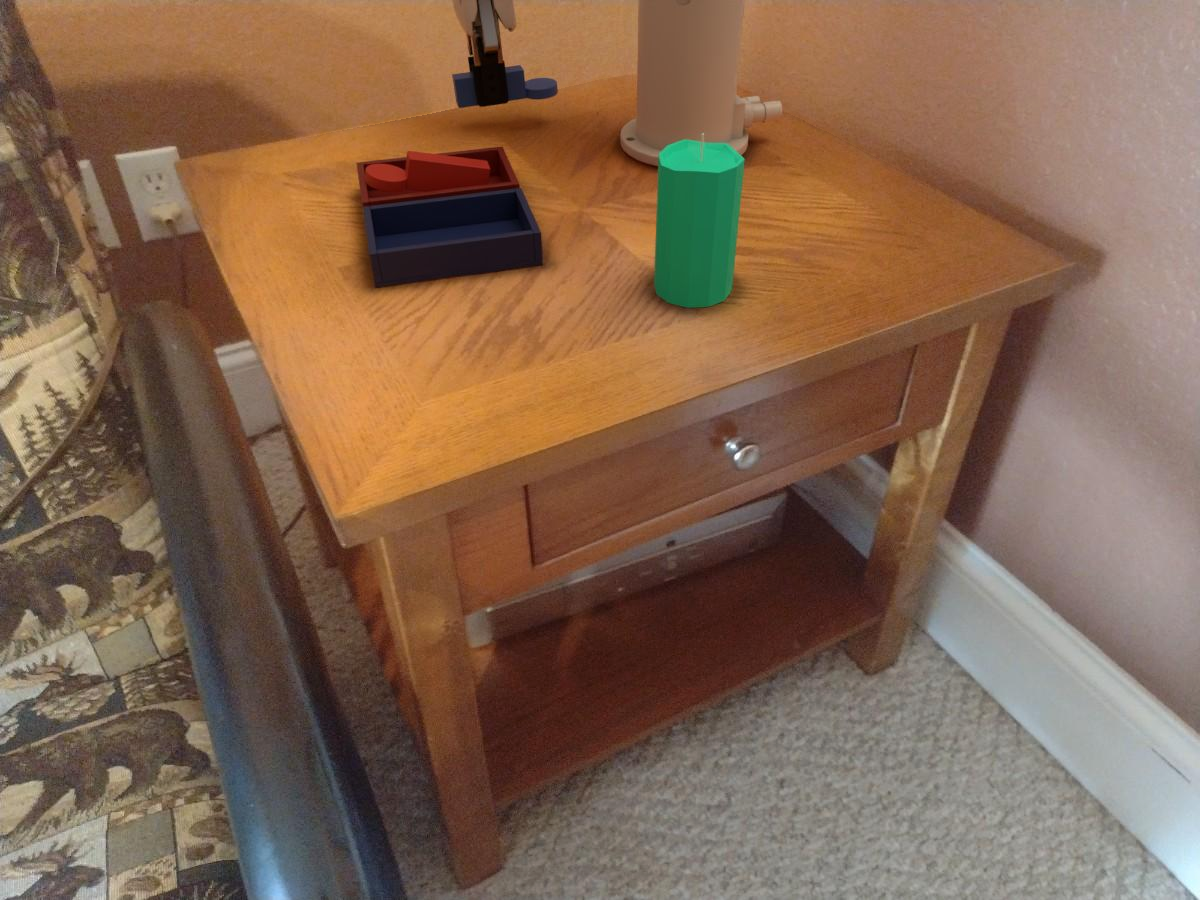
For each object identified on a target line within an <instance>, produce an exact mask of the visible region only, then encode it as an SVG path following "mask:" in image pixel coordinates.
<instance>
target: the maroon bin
mask: <svg viewBox="0 0 1200 900" xmlns="http://www.w3.org/2000/svg"><path fill="white" fill-rule="evenodd" d="M437 154H438V155H446V156H454V157H462V158H469V159H477V160H485V161H487V162H488V164H489V167H490V175H489V181H488V185H480V186H471V187H463V188H454V189H446V190H437V191H429V192H423V191H414V190H406V189H405V190H404V191H401V192H385V191H380V190H377V189H374V188H372V187H370V186H369V185H367V183H366V182H365V171H366V168H367V166H369V165H372V164H388V165H393V166H396V167H399V168H401V169H403V170H405V168H406V159H407V156H403V157H394V158H386V159H384V158H383V159H376V160H366V161H359V162H356V163H355V164H356V170H357V178H358V186H359V191H360V200H361V205H362V208H363V207H366V206H374V205H382V204H391V203H399V202H407V201H416V200H424V199H433V198H441V197H449V196H458V195H466V194H474V193H483V192H491V191H499V190H508V189H516V188H521V187H520V182H519V180H518V177H517V175H516V173H515V171H514V169H513V166H512V164H511V162H510V160H509V158H508V154H507V153H506V151H505V149H504V147H503V146H492V147H484V148H475V149H467V150H457V151H449V152H440V153H439V152H438V153H437Z"/></svg>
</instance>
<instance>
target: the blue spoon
mask: <svg viewBox="0 0 1200 900" xmlns="http://www.w3.org/2000/svg"><path fill="white" fill-rule="evenodd" d="M505 70H506V79H507V87H508V96H509V101H508V102H512V101H518V100H526V99H527V100H528V99H529V100H546V99H551V98H554V97H555V96H557V94H558V92H559V89H558V82H557V80H556V79H554V78H549V77H535V78H531V79H530V78H529V79H528V80H526V79H525V78H526V77H525V70H524V68H523V67H522V65H521V64H518V65H510V66H505ZM451 77H452V83H453V89H454V90H453V91H454V96H455V102H456V105H457V108H458V109H464V108H471V107H477V106H478V104H477V100H476V93H475V86H474V79H473V72H470V71H467V72H459V73H452V74H451ZM478 107H479V106H478Z"/></svg>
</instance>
